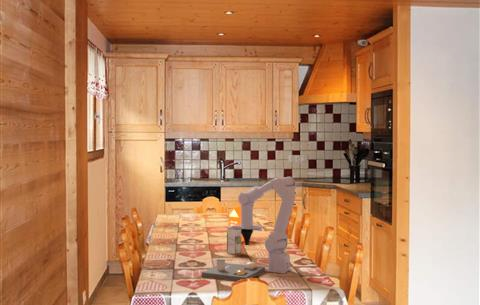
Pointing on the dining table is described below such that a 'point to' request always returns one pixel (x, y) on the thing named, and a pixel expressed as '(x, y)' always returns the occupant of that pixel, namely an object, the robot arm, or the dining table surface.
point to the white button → (250, 266)
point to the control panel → (232, 272)
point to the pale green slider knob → (220, 264)
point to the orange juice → (235, 217)
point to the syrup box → (234, 241)
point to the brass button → (240, 272)
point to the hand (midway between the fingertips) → (247, 244)
